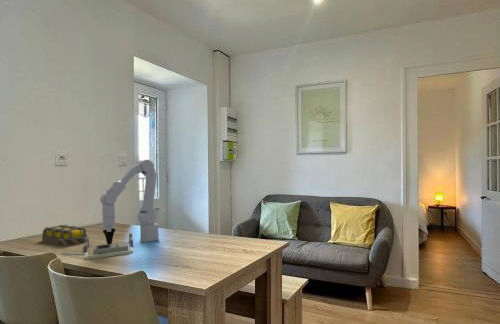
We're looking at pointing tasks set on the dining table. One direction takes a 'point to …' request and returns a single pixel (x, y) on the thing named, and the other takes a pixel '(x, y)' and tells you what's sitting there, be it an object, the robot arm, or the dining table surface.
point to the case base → (88, 242)
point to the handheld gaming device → (110, 248)
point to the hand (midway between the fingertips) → (109, 243)
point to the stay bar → (73, 253)
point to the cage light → (64, 235)
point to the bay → (108, 254)
